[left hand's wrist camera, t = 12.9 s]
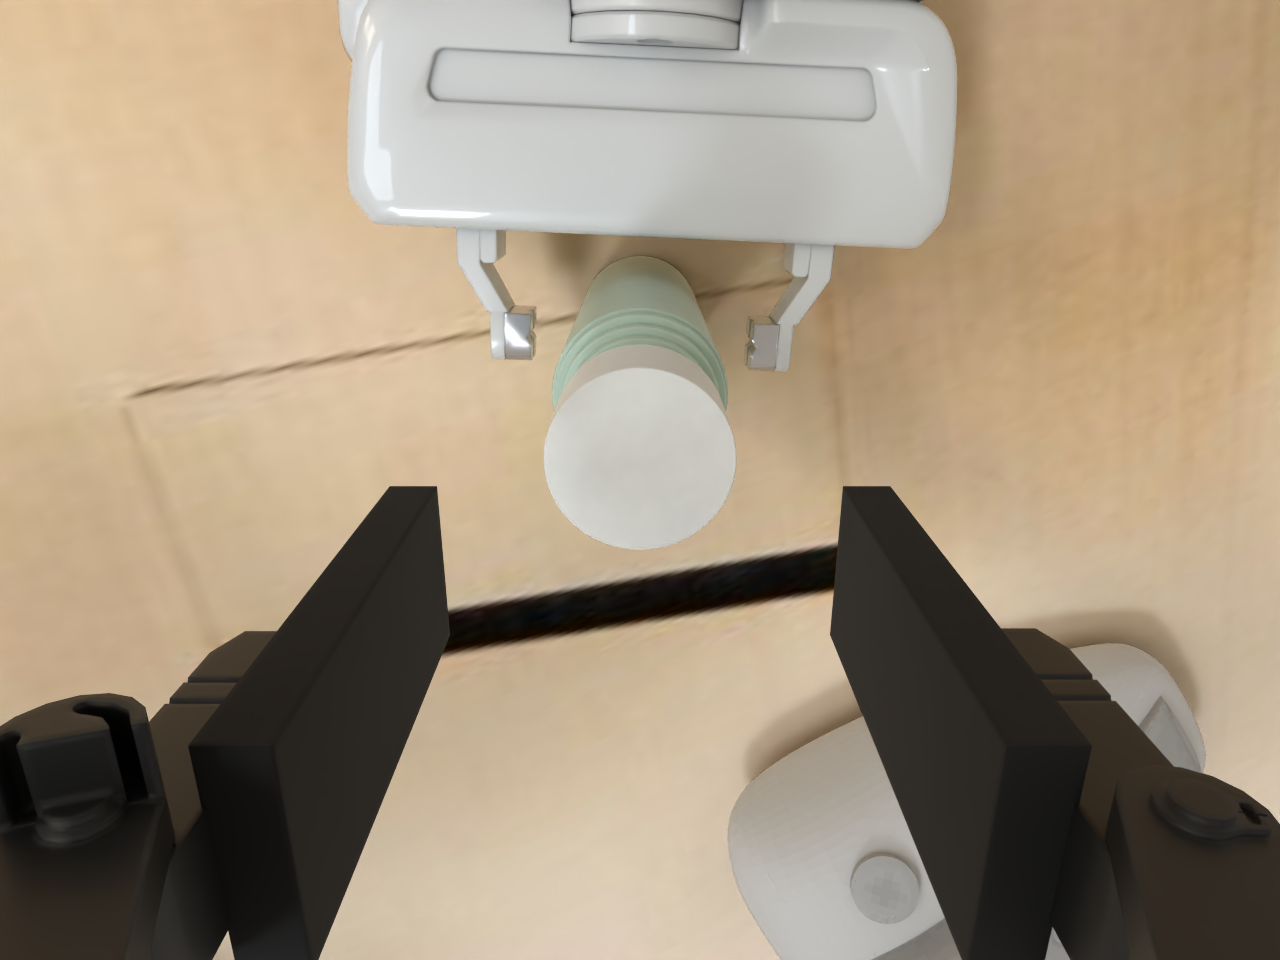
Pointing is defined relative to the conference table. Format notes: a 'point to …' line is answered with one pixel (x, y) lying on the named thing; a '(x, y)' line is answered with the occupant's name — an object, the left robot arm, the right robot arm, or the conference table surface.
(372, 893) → the conference table surface
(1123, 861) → the left robot arm
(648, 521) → the cap
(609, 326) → the bottle
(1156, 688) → the projector
